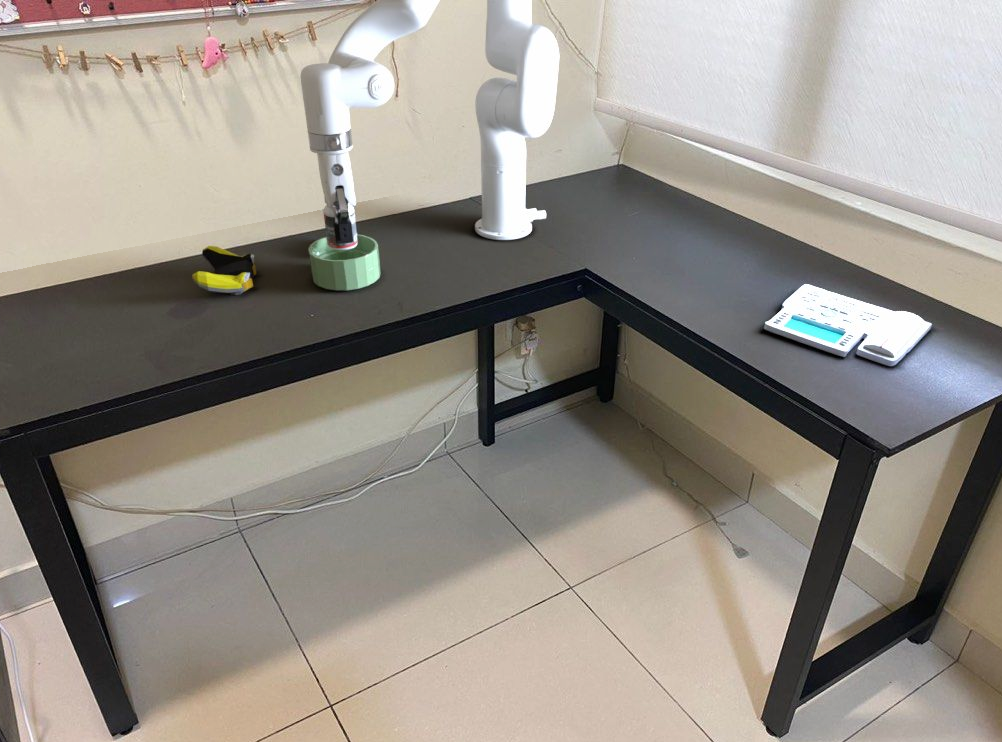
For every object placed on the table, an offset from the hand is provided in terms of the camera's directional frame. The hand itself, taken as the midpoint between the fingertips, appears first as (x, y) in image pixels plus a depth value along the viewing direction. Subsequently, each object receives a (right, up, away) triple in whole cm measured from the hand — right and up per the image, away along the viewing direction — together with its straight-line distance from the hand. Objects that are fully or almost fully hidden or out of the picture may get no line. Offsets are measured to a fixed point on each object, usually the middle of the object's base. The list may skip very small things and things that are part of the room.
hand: (341, 235), depth 151 cm
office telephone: (+91, -19, -11) cm, 93 cm away
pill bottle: (0, -2, +1) cm, 2 cm away
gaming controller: (-22, -9, +3) cm, 24 cm away
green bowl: (0, -7, +5) cm, 9 cm away
